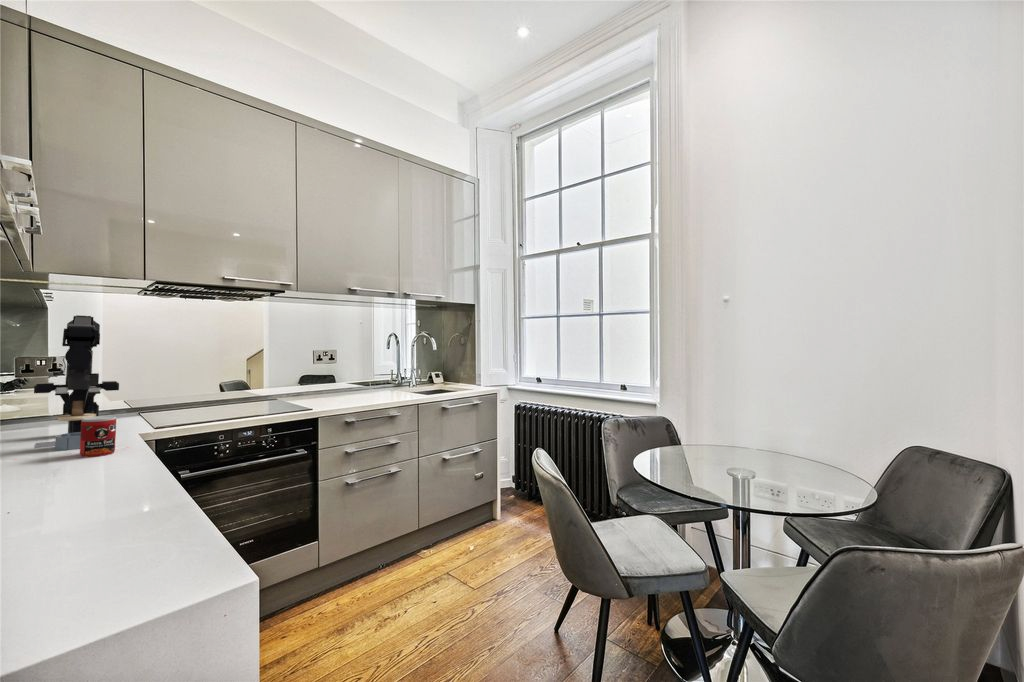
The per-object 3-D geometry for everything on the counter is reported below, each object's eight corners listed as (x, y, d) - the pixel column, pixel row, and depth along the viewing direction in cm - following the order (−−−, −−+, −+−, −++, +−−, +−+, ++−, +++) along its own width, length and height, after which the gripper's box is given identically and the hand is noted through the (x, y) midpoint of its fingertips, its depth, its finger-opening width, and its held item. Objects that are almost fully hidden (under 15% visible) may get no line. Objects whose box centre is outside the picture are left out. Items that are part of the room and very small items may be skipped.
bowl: (55, 448, 135) (56, 434, 135) (95, 444, 142) (95, 430, 142) (54, 453, 129) (55, 438, 129) (96, 449, 136) (96, 434, 136)
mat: (35, 444, 140) (36, 442, 140) (71, 441, 146) (71, 439, 146) (34, 449, 133) (34, 447, 133) (71, 446, 139) (71, 444, 139)
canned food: (82, 458, 123) (84, 420, 124) (77, 454, 128) (78, 417, 129) (117, 454, 130) (119, 417, 130) (111, 450, 134) (113, 414, 135)
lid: (57, 418, 136) (58, 400, 136) (95, 415, 142) (96, 399, 142) (57, 421, 130) (57, 403, 130) (96, 418, 136) (97, 401, 136)
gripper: (34, 366, 124) (31, 420, 124) (121, 365, 137) (119, 414, 137) (36, 364, 132) (33, 415, 131) (118, 364, 145) (116, 410, 145)
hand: (77, 414), depth 136 cm, fingers closed on lid, 3 cm apart
